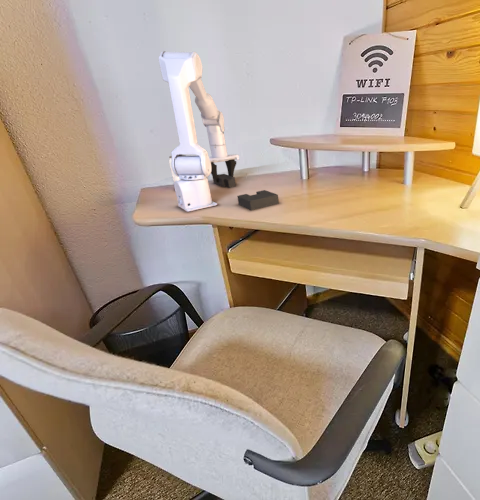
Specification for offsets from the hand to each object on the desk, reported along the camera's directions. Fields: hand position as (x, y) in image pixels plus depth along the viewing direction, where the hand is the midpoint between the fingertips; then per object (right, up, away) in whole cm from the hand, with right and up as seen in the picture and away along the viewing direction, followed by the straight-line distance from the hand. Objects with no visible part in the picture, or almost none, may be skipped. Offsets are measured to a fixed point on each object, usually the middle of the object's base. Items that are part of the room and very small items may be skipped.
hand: (223, 180), depth 126 cm
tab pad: (+1, -2, 0) cm, 2 cm away
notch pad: (+21, -13, -23) cm, 33 cm away
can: (-12, -5, -6) cm, 14 cm away
